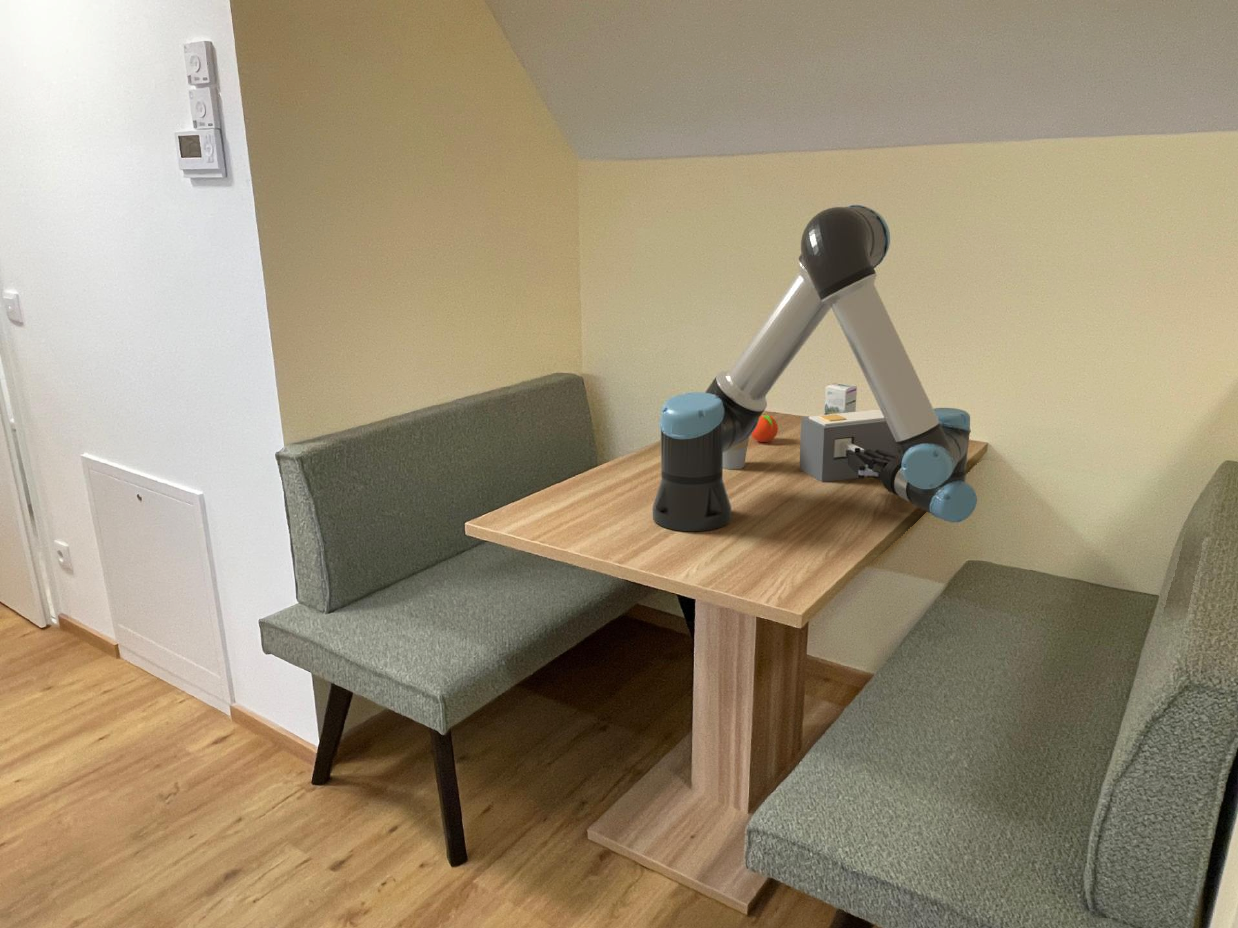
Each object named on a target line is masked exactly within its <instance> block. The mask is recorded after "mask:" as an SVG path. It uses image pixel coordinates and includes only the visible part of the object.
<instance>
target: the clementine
mask: <svg viewBox="0 0 1238 928" xmlns="http://www.w3.org/2000/svg"><path fill="white" fill-rule="evenodd" d="M778 429H779V427H778V423H777V421H776V419H775V418H774V417H772V416H771V415H768V414H761V416H760V417H759V422H758V424H757V426H756V428H755V430H754V431H753V433H752V434H751V435H750V436H752V438H753V439H754V440H755V441H757V442H760V443H768V442H771V441H772V440H774V439H775V438H776V435H777V434H778Z"/></svg>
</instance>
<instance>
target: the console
mask: <svg viewBox="0 0 1238 928" xmlns="http://www.w3.org/2000/svg"><path fill="white" fill-rule="evenodd" d="M844 437H851V438H852V439H851V443H852V444H854V445H856V446H858V447H860V448H862V449H864V450H871V451H873V452H875V450H881V451H885V452H888V453H891V454H895V455H898V456H902V454H901V452H900V450H899V447H898V445H897V443H896V441H895V439H894V437H893V435H892V432H891V430H890V428H889V426H888V424H887V422H886V420H885V418H884V416H883V414H882V412H881V410H880V408H878V409H868V410H860V411H857V410H856V411H855V412H847V413H838V414H828V415H824V414H821V415H820V414H819V415H810V416H809V415H808V416H802V417H801V418H800V440H799V441H800V442H799V443H800V444H799V445H800V446H799V468H798V469H799V470H800V471H802V472H804V473H805V474H807V475H809V476H811V477H813V478H814V479H816V480H817V481H819V482H821V483H824V482H832V481H839V480H848V479H855V478H858V474H857V473H856V472H855V471H854V470H853V469H851V468H850V467H849V466H848V458H847V457H845V456H843V457H835V458H834V442H835V438H844ZM867 477H870V476H869V475H867Z"/></svg>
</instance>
